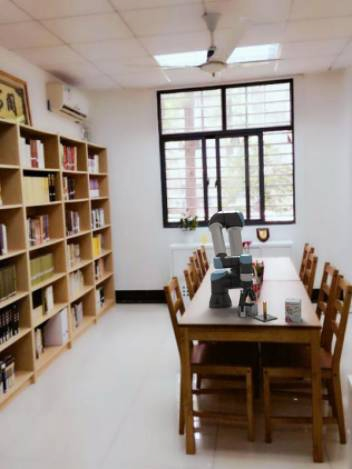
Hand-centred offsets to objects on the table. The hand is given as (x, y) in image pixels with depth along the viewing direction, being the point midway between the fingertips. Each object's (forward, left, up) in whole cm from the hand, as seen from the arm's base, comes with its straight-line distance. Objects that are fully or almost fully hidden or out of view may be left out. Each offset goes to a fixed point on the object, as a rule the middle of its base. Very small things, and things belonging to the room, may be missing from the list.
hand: (248, 314), depth 267 cm
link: (0, 0, 0) cm, 0 cm away
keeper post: (+13, +3, 0) cm, 13 cm away
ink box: (+24, +15, 0) cm, 28 cm away
